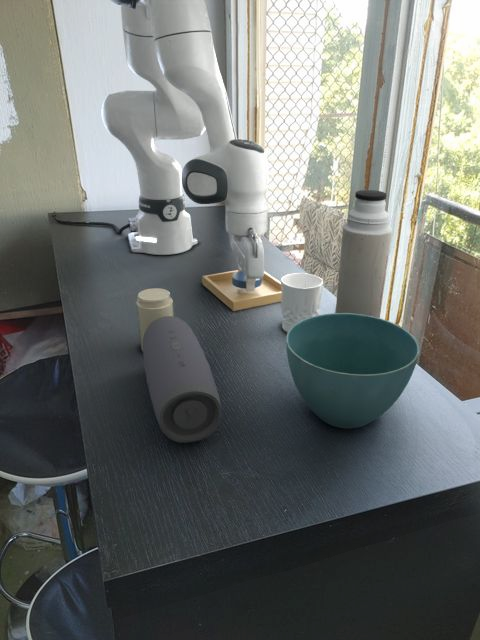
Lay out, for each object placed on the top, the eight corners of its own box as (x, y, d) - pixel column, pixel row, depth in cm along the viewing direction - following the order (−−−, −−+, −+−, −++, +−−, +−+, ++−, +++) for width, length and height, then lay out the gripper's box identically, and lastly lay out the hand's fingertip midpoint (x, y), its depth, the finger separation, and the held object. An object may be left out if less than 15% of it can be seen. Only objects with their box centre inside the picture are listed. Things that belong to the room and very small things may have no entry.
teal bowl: (319, 465, 68) (327, 386, 62) (263, 393, 82) (265, 323, 76) (431, 433, 74) (448, 358, 68) (361, 371, 89) (369, 305, 83)
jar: (135, 344, 96) (130, 291, 91) (166, 336, 99) (162, 284, 94) (149, 358, 91) (144, 304, 86) (181, 349, 94) (178, 296, 89)
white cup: (323, 322, 105) (327, 276, 100) (313, 340, 98) (317, 290, 94) (285, 316, 107) (287, 270, 102) (274, 333, 101) (275, 284, 96)
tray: (202, 284, 122) (202, 275, 121) (257, 274, 128) (258, 266, 127) (233, 311, 109) (233, 302, 108) (293, 299, 115) (293, 290, 114)
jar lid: (267, 282, 118) (267, 275, 117) (251, 291, 113) (251, 283, 112) (242, 275, 121) (242, 268, 120) (226, 284, 116) (226, 277, 115)
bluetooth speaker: (227, 444, 71) (226, 382, 66) (158, 456, 69) (152, 392, 64) (197, 362, 90) (195, 310, 85) (142, 369, 88) (137, 315, 83)
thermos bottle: (375, 339, 99) (396, 188, 86) (375, 359, 92) (397, 199, 79) (333, 334, 101) (347, 185, 87) (330, 354, 94) (344, 195, 80)
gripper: (272, 236, 102) (270, 300, 109) (251, 210, 120) (250, 267, 127) (241, 237, 101) (241, 303, 108) (223, 211, 119) (224, 269, 125)
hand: (246, 283), depth 117 cm, fingers closed on jar lid, 6 cm apart
